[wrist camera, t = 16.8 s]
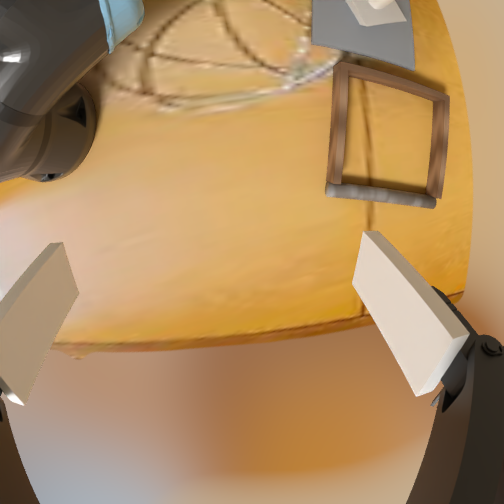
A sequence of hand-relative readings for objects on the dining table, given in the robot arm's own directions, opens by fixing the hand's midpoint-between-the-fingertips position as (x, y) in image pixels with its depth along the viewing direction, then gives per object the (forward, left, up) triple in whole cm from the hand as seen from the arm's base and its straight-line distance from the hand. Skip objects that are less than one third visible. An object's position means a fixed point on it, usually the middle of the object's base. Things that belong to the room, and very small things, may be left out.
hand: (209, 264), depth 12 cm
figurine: (0, +33, -26) cm, 42 cm away
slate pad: (0, +33, -26) cm, 42 cm away
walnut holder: (+14, +19, -26) cm, 35 cm away
